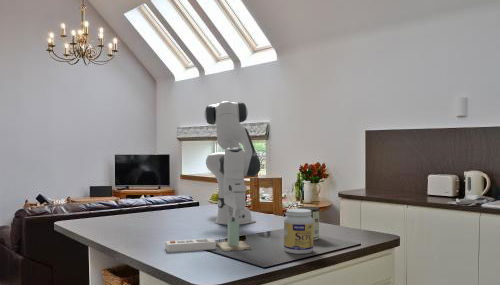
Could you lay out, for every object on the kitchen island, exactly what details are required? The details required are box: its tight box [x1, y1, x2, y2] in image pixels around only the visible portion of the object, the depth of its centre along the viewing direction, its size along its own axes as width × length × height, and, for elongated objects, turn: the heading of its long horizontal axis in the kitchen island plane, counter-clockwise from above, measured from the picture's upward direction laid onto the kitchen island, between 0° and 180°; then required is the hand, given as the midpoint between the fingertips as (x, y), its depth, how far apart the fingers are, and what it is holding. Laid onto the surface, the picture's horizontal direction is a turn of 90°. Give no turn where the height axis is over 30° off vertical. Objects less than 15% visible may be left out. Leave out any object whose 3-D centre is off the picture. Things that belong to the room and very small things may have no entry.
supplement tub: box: [283, 208, 314, 255], centre depth 190 cm, size 12×12×17 cm
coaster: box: [216, 240, 252, 252], centre depth 196 cm, size 12×12×1 cm
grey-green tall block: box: [226, 217, 240, 246], centre depth 196 cm, size 4×4×12 cm
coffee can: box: [296, 205, 320, 241], centre depth 217 cm, size 10×10×14 cm
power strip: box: [164, 238, 217, 253], centre depth 193 cm, size 20×7×4 cm, turn 108°
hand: (233, 217), depth 197 cm, fingers open, 8 cm apart
